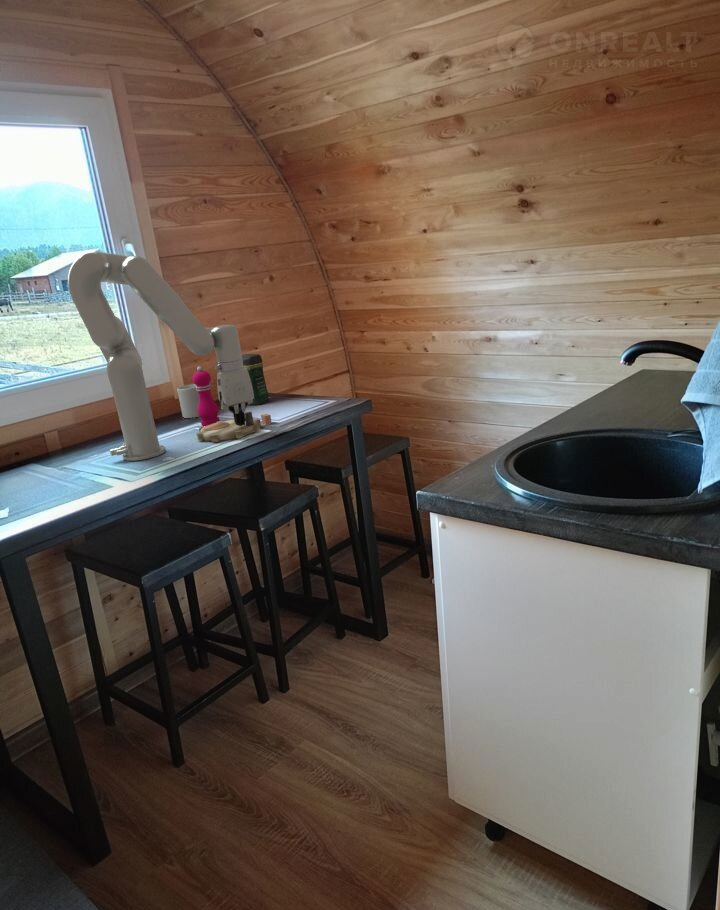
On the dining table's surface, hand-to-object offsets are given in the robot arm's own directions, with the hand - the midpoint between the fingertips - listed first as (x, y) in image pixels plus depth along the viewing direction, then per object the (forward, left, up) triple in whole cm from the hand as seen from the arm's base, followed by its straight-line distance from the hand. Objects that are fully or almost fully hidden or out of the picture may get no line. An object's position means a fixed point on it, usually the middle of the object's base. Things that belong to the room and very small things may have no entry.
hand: (240, 424), depth 222 cm
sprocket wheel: (-2, +6, -4) cm, 8 cm away
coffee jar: (+23, +41, -4) cm, 48 cm away
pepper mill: (-1, +26, -4) cm, 27 cm away
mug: (+1, +44, -4) cm, 45 cm away
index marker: (+11, +6, -4) cm, 14 cm away
